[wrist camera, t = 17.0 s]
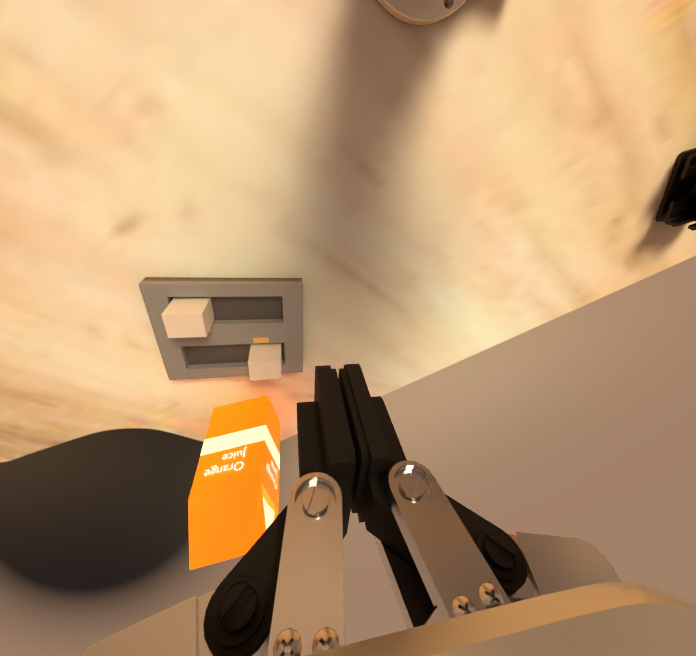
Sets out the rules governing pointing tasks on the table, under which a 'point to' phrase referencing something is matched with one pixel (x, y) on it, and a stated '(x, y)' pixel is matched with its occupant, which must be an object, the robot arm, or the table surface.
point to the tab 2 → (265, 361)
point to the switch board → (229, 323)
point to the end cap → (680, 193)
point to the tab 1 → (188, 317)
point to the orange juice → (235, 482)
